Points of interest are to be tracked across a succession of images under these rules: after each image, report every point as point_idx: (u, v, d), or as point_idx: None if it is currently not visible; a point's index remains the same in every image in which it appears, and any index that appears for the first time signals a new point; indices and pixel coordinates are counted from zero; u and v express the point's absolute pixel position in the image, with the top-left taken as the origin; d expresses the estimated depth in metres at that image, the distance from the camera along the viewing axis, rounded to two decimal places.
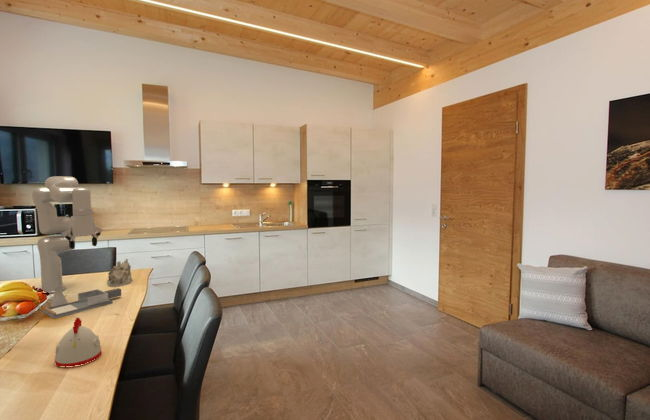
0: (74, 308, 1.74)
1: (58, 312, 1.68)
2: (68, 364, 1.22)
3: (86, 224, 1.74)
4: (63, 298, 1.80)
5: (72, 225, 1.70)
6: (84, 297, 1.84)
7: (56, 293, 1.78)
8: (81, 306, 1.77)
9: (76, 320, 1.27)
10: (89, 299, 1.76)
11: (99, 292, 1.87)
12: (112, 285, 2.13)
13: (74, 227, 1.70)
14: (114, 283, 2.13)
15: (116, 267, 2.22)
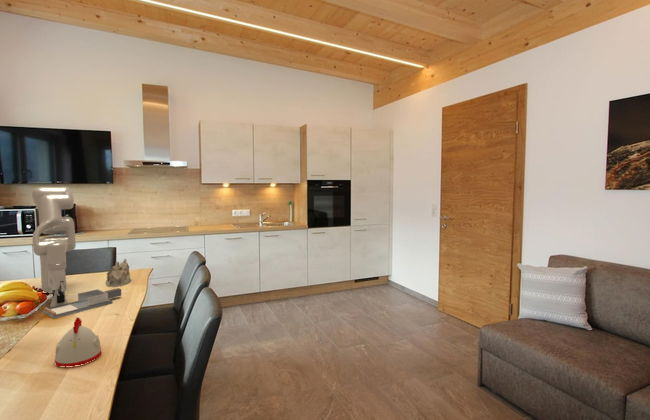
0: (74, 308, 1.74)
1: (58, 312, 1.68)
2: (68, 364, 1.22)
3: None
4: None
5: (64, 278, 1.77)
6: (84, 297, 1.84)
7: (56, 293, 1.78)
8: (81, 306, 1.77)
9: (76, 320, 1.27)
10: (89, 299, 1.76)
11: (99, 292, 1.87)
12: (111, 285, 2.13)
13: (65, 279, 1.78)
14: (113, 283, 2.13)
15: (115, 267, 2.21)
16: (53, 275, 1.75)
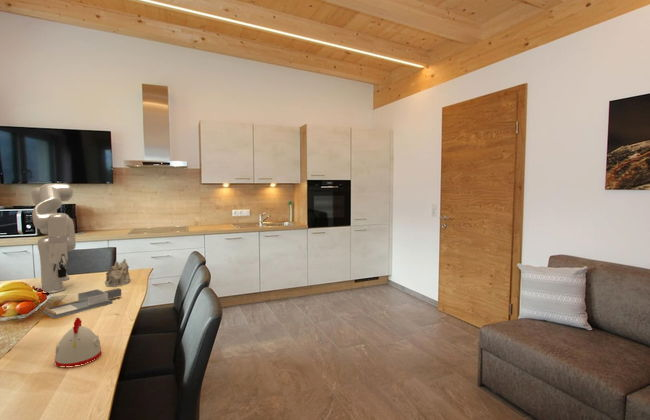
0: (74, 308, 1.74)
1: (58, 312, 1.68)
2: (68, 364, 1.22)
3: None
4: None
5: (65, 251, 1.71)
6: (84, 297, 1.84)
7: (57, 267, 1.72)
8: (81, 306, 1.77)
9: (76, 320, 1.27)
10: (89, 299, 1.76)
11: (99, 292, 1.87)
12: (110, 285, 2.12)
13: None
14: (112, 283, 2.13)
15: (114, 267, 2.21)
16: (54, 248, 1.69)
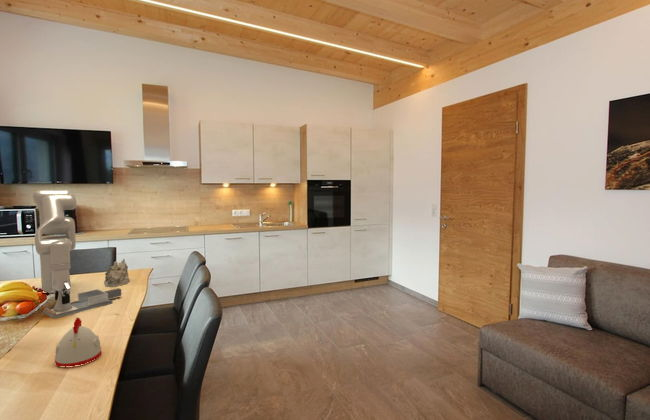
0: (74, 308, 1.74)
1: (58, 312, 1.68)
2: (68, 364, 1.22)
3: None
4: None
5: (68, 279, 1.69)
6: (84, 297, 1.84)
7: (60, 296, 1.70)
8: (81, 306, 1.77)
9: (76, 320, 1.27)
10: (89, 299, 1.76)
11: (99, 292, 1.87)
12: (109, 285, 2.12)
13: None
14: (111, 283, 2.13)
15: (113, 267, 2.21)
16: (57, 275, 1.67)
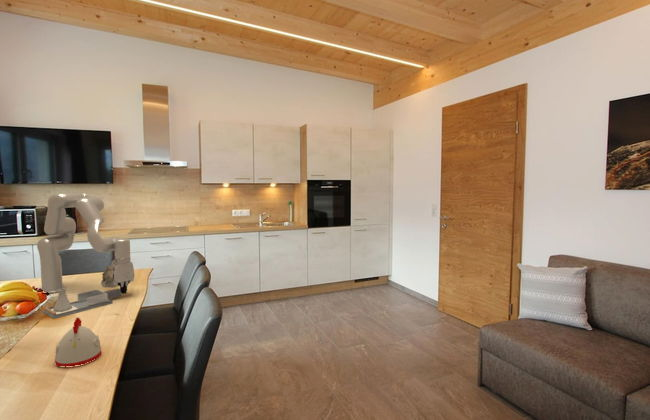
0: (74, 308, 1.74)
1: (58, 312, 1.68)
2: (68, 364, 1.22)
3: None
4: (67, 301, 1.72)
5: None
6: (83, 297, 1.84)
7: (60, 296, 1.70)
8: (81, 306, 1.77)
9: (76, 320, 1.27)
10: (88, 299, 1.76)
11: (98, 292, 1.87)
12: (107, 285, 2.12)
13: None
14: (109, 283, 2.12)
15: (110, 267, 2.20)
16: (130, 266, 1.95)
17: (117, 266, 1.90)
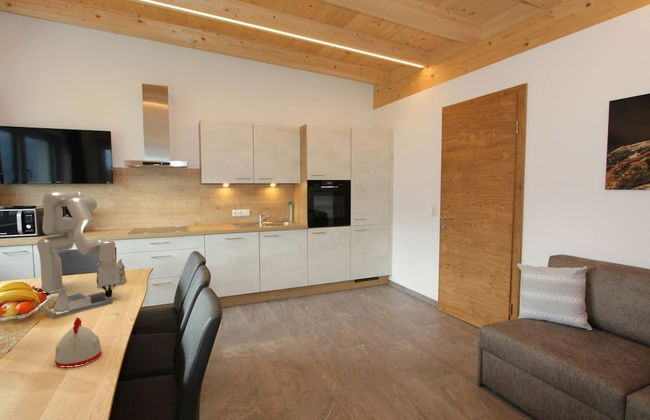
0: None
1: (58, 312, 1.68)
2: (68, 364, 1.22)
3: None
4: (67, 301, 1.72)
5: None
6: None
7: (60, 296, 1.70)
8: None
9: (76, 320, 1.27)
10: (70, 303, 1.70)
11: (82, 296, 1.81)
12: None
13: None
14: None
15: None
16: (116, 269, 1.89)
17: (101, 269, 1.84)
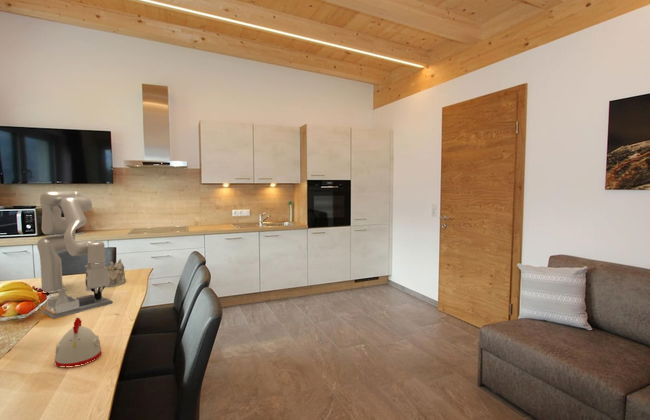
0: None
1: None
2: (68, 364, 1.22)
3: None
4: (67, 301, 1.72)
5: None
6: (54, 304, 1.73)
7: (60, 296, 1.70)
8: (81, 306, 1.77)
9: (76, 320, 1.27)
10: (58, 307, 1.66)
11: (70, 299, 1.76)
12: None
13: None
14: None
15: (109, 268, 2.20)
16: (105, 271, 1.85)
17: (90, 271, 1.79)
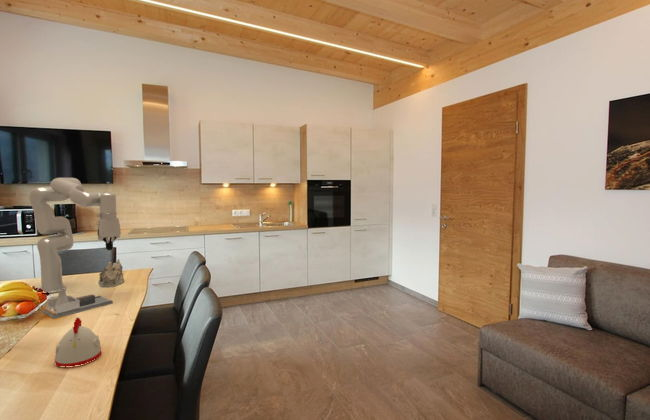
0: None
1: None
2: (68, 364, 1.22)
3: None
4: (67, 301, 1.72)
5: None
6: (54, 304, 1.74)
7: (60, 296, 1.70)
8: (81, 306, 1.77)
9: (76, 320, 1.27)
10: (58, 306, 1.66)
11: (71, 299, 1.77)
12: (105, 286, 2.11)
13: None
14: (107, 284, 2.12)
15: (108, 268, 2.20)
16: (116, 222, 1.90)
17: (102, 220, 1.84)
